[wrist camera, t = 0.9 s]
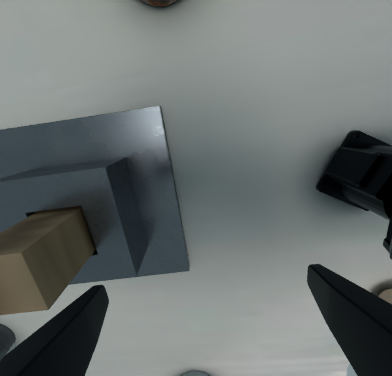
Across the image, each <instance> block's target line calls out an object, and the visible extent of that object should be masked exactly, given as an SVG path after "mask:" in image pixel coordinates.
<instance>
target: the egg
mask: <svg viewBox="0 0 392 376" xmlns="http://www.w3.org/2000/svg"><path fill="white" fill-rule="evenodd" d="M378 297H380V298H382V299H383V300H385V301H387V302H389V303H391V304H392V289H387V290H385V291H383V292H381V293H380V295H379V296H378Z"/></svg>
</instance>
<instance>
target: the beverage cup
mask: <svg viewBox="0 0 392 376" xmlns="http://www.w3.org/2000/svg"><path fill="white" fill-rule="evenodd" d="M14 341H15V335H14V333H13V332H12V331H11V330H10V329H9V328H8V327H6V326H4V325H1V324H0V360H1V359H2V358H3V357H4V356H5V355H6V353H7V351H8V350H9V348H10V346H11V345H12V344H13V343H14Z"/></svg>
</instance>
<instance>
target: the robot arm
mask: <svg viewBox="0 0 392 376" xmlns="http://www.w3.org/2000/svg"><path fill="white" fill-rule="evenodd" d="M355 134H356V137H355V138H354V135H355ZM322 186H324V188H323V189H321V187H322ZM317 190H318V191H320V192H322V193H324V194H327V195H329V196H332V197H334V198H336V199H339V200H341V201H344V202H346V203H348V204H351V205H353V206H356V207H358V208H360V209H363V210H365V211H369V210H370V211H372V212H374V213H376V214H378V215H380V216H382V217H384V218H386V219H388V220H390V222H389V226H388V231H387V236H386V238H385V239H384V242H383V246H384V247H385V248H386V249H387V251H388V252H389V254H390V258H391V259H392V146H391V145H389V144H386V143H384V142H382V141H380V140H378V139H376V138H374V137H372V136H369V135H367V134H365V133H363V132H361V131H356V130H354V131H352V132H350V133H349V135H348V136H347V138H346V140H345V141H344V143H343V144H342V146H341V148H339V150H338V152H337V153H336V155H335V156H334V158H333V160H332V161H331V163H330V164H329V166H328V168H327V169H326V172H325V173H324V175H323V177H322V178H321V180H320V181H319V183H318V185H317ZM307 282H308V286H309V288H310V290H311V292H312V294H313V296H314V298H315V301H316V303H317V305H318V307H319V309H320V311H321V313H322V315H323V317H324V319H325V321H326V323H327V325H328V327H329V329H330V330H331V332H332V334H333V335H334V337H335V339H336V340H337V342H338V344H339V345H340V347H341V349H342V350H343V352H344V354H345V355H346V357H347V359H348V360H349V362H350V364H351V365H352V367H353V369H354V370H355V372H356V374H357V375H358V376H392V304H391V303H389V302H387V301H385V300H383V299H382V298H380V297H378V296H376V295H374V294H373V293H371V292H369V291H367V290H365V289H363V288H362V287H360V286H358V285H356V284H354V283H353V282H351V281H349V280H347V279H345V278H344V277H342V276H340V275H338V274H336V273H334V272H333V271H331V270H329V269H327V268H325V267H324V266H322V265H320V264H312V265H309V266H308V274H307ZM108 304H109V299H108V296H107V293H106V290H105V287H104V286H103V285H95V286H93V287H91V288H90V289H89V290H88V291H86V292H85V293H84V294H82V295H81V296H80V297H79V298H77V299H76V300H75V301H74V302H72V303H71V304H70V305H69V306H67V307H66V308H65V309H64V310H62V311H61V312H60V313H58V314H57V315H56V316H55V317H53V318H52V319H51V320H50V321H48V322H47V323H46V324H44V325H43V326H42V327H41V328H39V329H38V330H37V331H36V332H34V333H33V334H32V335H31V336H29V337H28V338H27V339H25V340H24V341H23V342H22V343H20V344H19V345H18V346H17V347H15V348H14V349H13V350H12V351H10V352H9V353H8V354H6V355H5V356H4V357H3V358H2V359H1V360H0V376H85V373H86V371H87V368H88V366H89V363H90V360H91V358H92V355H93V353H94V350H95V347H96V345H97V342H98V339H99V335H100V332H101V328H102V325H103V321H104V318H105V314H106V311H107V308H108Z"/></svg>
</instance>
